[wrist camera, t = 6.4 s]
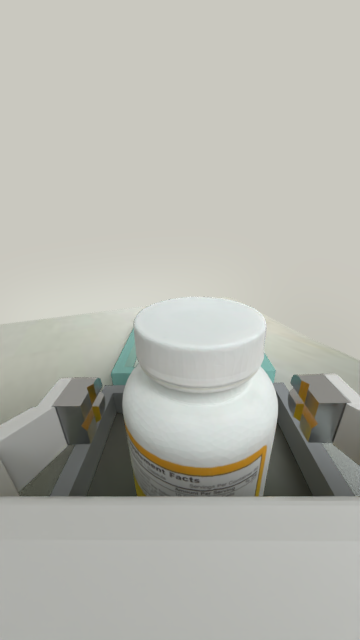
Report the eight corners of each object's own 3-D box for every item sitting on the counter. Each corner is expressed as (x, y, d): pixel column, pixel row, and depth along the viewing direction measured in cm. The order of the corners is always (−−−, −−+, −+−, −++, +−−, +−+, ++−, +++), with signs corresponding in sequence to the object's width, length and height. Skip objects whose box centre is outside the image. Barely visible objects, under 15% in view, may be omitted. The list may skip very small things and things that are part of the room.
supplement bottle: (218, 638, 7) (240, 408, 3) (116, 513, 10) (68, 324, 6) (274, 491, 11) (313, 306, 7) (187, 433, 14) (183, 285, 10)
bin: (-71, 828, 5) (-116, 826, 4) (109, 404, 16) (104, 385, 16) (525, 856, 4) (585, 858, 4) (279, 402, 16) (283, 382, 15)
